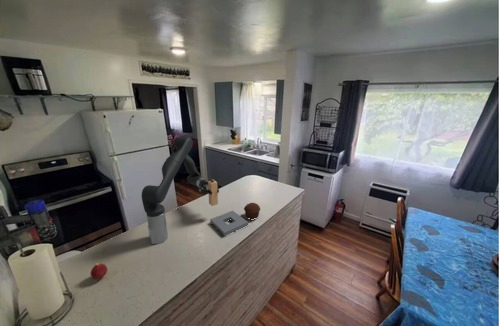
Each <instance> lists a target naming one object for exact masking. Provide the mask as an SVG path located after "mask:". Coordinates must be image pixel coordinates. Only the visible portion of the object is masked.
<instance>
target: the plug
mask: <svg viewBox="0 0 500 326" xmlns="http://www.w3.org/2000/svg"><path fill="white" fill-rule="evenodd" d="M208 181H209V182H208V189H209V190H210V191H212V195H211V194H209V193H208V204H209V205H210V206H212V207H213V206H217V205H218V203H219V200H218V195H219V193H217V185H218V182H217V181H216V180H215V179H214V178H211V179H210V180H208Z"/></svg>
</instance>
